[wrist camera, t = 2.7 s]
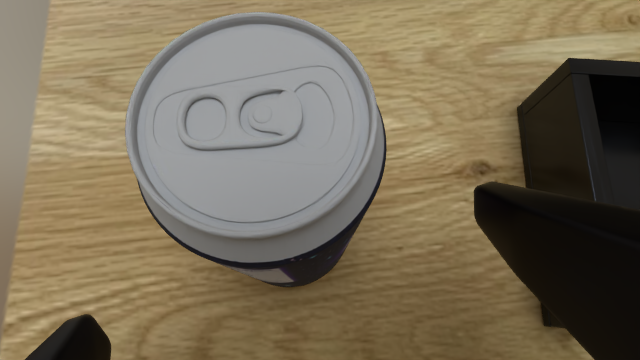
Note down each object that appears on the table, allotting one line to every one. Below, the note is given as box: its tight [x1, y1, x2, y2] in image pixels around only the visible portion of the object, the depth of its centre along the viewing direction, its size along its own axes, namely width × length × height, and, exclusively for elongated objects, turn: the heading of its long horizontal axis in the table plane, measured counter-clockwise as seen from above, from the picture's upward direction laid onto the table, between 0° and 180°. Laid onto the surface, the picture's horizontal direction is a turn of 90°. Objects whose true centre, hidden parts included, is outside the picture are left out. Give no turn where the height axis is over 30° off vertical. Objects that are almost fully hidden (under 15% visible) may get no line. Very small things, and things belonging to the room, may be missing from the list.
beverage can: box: [125, 12, 386, 287], centre depth 13 cm, size 6×6×12 cm
